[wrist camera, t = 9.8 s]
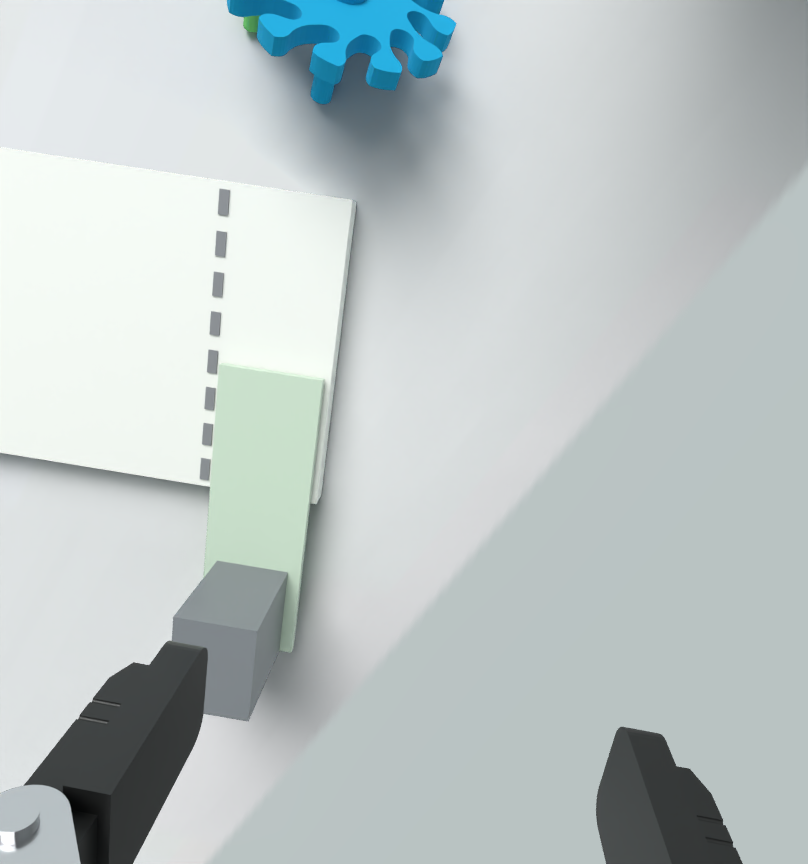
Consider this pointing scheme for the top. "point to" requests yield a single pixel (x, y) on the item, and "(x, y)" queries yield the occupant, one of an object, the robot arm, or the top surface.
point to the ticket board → (156, 308)
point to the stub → (253, 532)
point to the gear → (351, 36)
